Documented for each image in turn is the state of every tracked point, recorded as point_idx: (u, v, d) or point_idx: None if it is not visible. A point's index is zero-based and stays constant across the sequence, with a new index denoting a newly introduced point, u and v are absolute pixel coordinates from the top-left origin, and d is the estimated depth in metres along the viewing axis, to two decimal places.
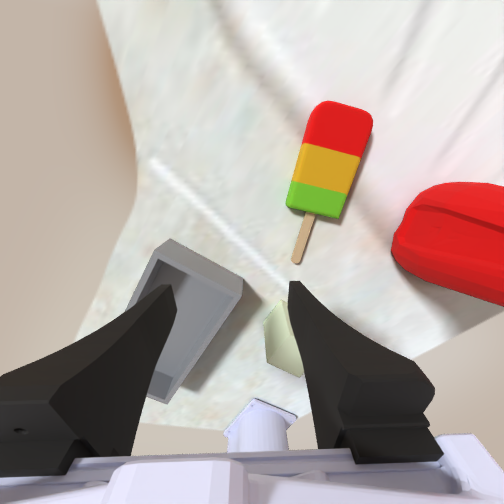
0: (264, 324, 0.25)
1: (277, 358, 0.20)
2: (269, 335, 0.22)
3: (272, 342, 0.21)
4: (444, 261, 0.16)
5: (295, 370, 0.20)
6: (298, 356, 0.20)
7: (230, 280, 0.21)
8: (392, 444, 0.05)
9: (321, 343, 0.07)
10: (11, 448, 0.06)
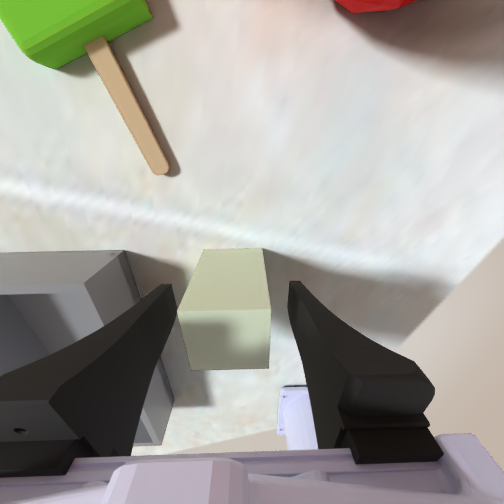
0: None
1: (200, 357, 0.10)
2: None
3: None
4: None
5: (250, 361, 0.10)
6: (232, 338, 0.09)
7: (80, 266, 0.12)
8: (391, 444, 0.06)
9: (321, 343, 0.07)
10: (11, 448, 0.06)
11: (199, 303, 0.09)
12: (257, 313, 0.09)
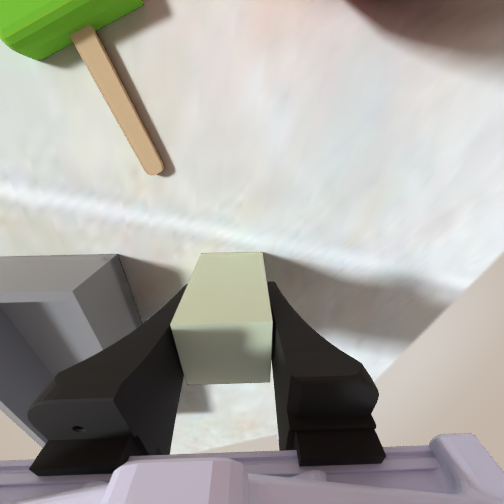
0: None
1: (196, 371, 0.09)
2: None
3: None
4: None
5: (250, 375, 0.09)
6: (230, 352, 0.09)
7: (69, 271, 0.11)
8: (336, 446, 0.05)
9: (279, 344, 0.07)
10: (68, 446, 0.06)
11: (195, 314, 0.08)
12: (258, 326, 0.08)
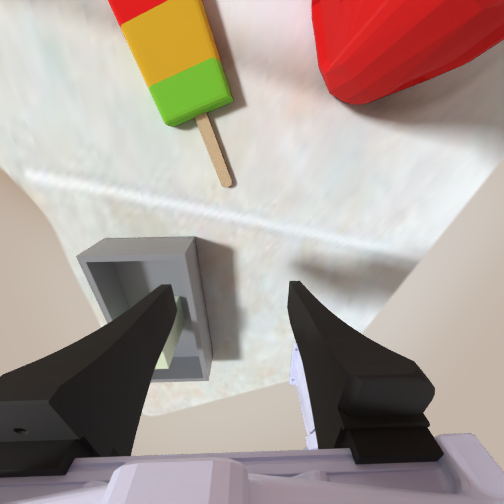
0: None
1: None
2: None
3: None
4: (368, 34, 0.09)
5: (157, 365, 0.19)
6: None
7: (174, 245, 0.19)
8: (391, 444, 0.06)
9: (321, 343, 0.07)
10: (11, 448, 0.06)
11: None
12: None
